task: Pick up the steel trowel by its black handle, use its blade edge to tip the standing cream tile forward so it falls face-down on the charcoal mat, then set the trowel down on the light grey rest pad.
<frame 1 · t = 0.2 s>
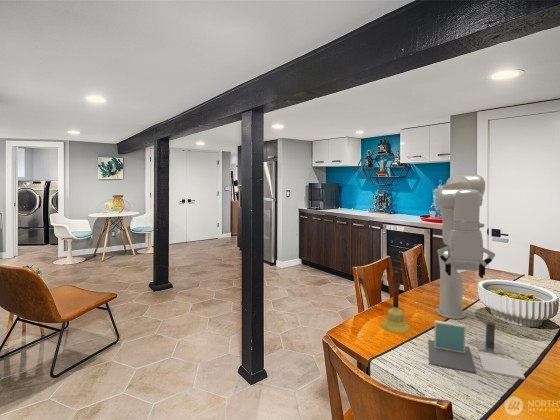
hand: (464, 275, 108), 31 cm above the table, tool pointing down, fingers open, 9 cm apart
tile: (449, 336, 117), point 5 cm above the table, touching tile mat
tile mat: (450, 355, 114), on the table
rest pad: (500, 366, 106), on the table
handbell: (395, 327, 137), on the table
trowel: (489, 348, 119), on the table
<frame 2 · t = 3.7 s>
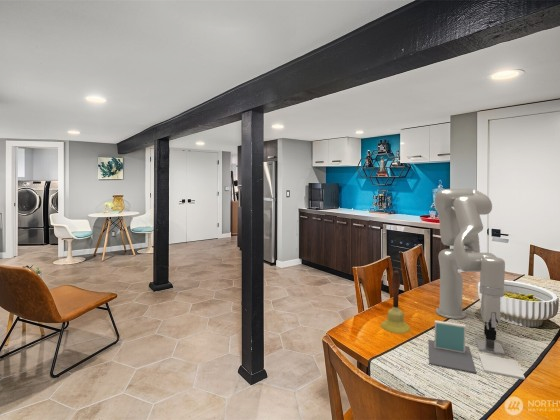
hand: (489, 337, 118), 4 cm above the table, tool pointing down, fingers closed on trowel, 2 cm apart
trowel: (489, 348, 119), on the table, touching gripper
everything else where it was.
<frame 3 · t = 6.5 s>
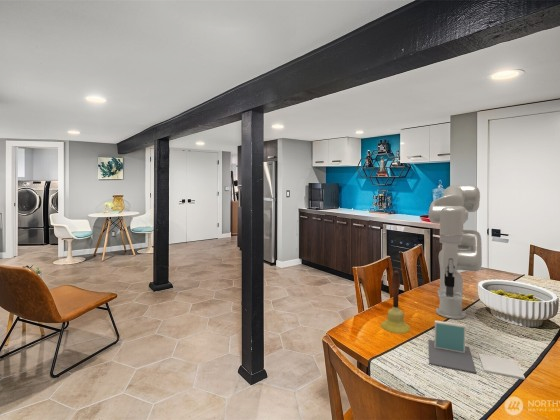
hand: (449, 284, 123), 23 cm above the table, tool pointing down, fingers closed on trowel, 2 cm apart
trowel: (449, 295, 124), point 18 cm above the table, touching gripper
everything else where it was.
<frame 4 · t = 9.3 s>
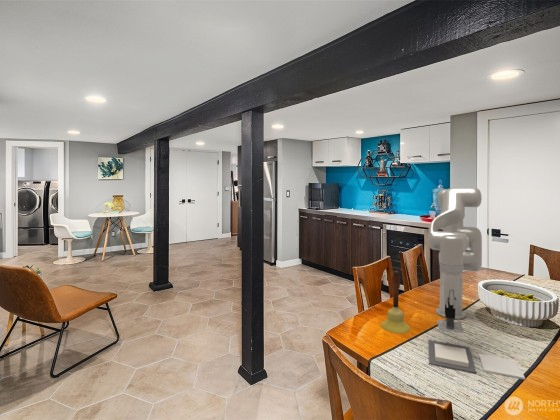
hand: (449, 315, 118), 13 cm above the table, tool pointing down, fingers closed on trowel, 2 cm apart
tile: (450, 354, 112), point 1 cm above the table, tilted 90°, touching tile mat
trowel: (450, 327, 118), point 8 cm above the table, touching gripper
everything else where it was.
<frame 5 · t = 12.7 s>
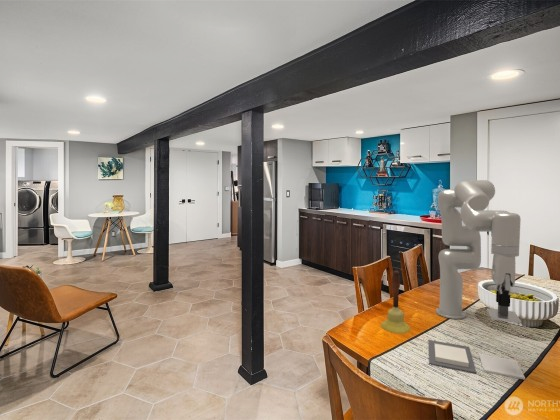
hand: (502, 303, 105), 22 cm above the table, tool pointing down, fingers closed on trowel, 2 cm apart
trowel: (502, 316, 105), point 18 cm above the table, touching gripper
everything else where it was.
when the fingers open (6 cm above the table, at t = 15.7 s): trowel stays where it is, resting on rest pad.
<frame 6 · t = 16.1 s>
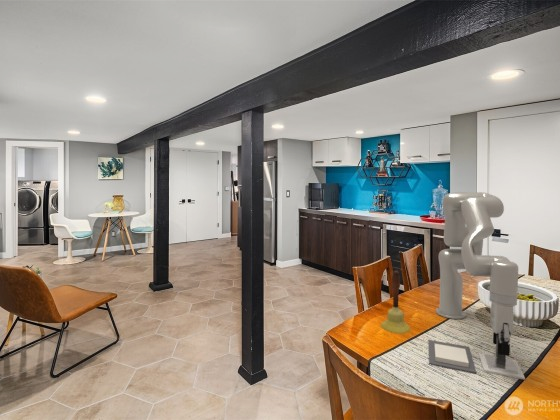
hand: (501, 348, 106), 6 cm above the table, tool pointing down, fingers open, 6 cm apart
trowel: (500, 364, 106), point 1 cm above the table, touching rest pad
everything else where it was.
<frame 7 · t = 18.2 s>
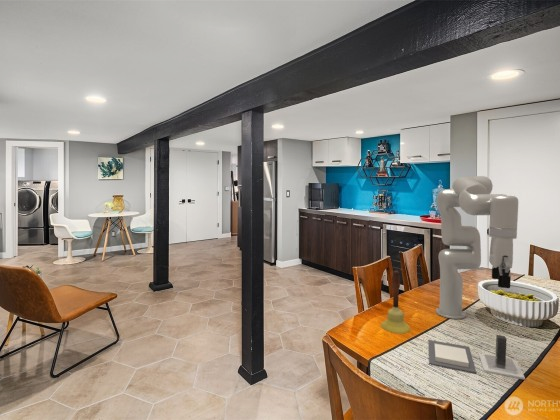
hand: (500, 283, 105), 29 cm above the table, tool pointing down, fingers open, 9 cm apart
nothing on the table moved.
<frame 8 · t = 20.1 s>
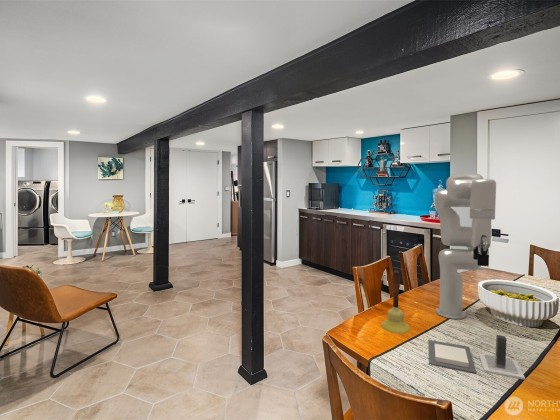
hand: (480, 262, 111), 34 cm above the table, tool pointing down, fingers open, 9 cm apart
nothing on the table moved.
at the end: tile inside the target area (0.2 cm from its centre), point 1.4 cm above the table; trowel inside the target area on the rest pad (0.1 cm from its centre), point 0.6 cm above the rest pad's base; the gripper is holding nothing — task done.
